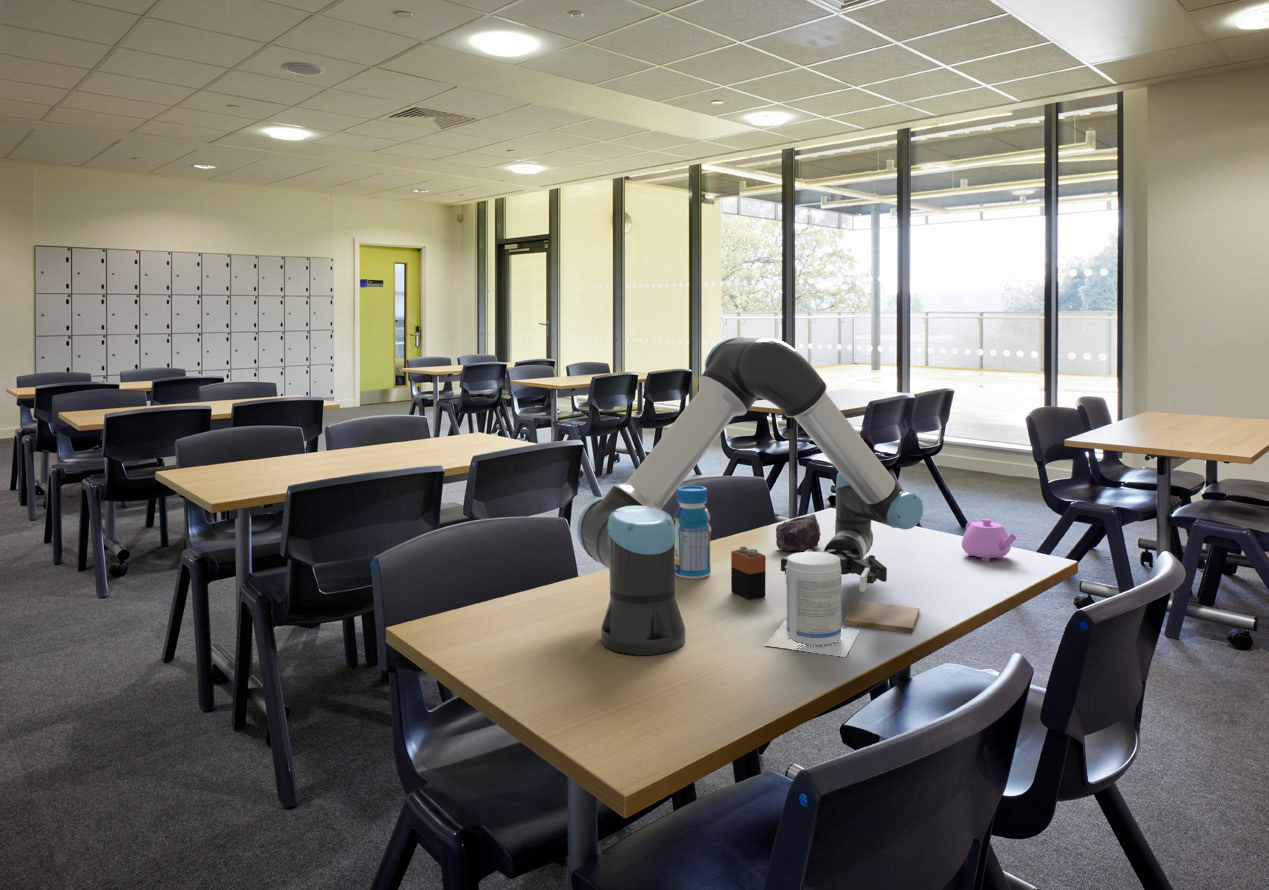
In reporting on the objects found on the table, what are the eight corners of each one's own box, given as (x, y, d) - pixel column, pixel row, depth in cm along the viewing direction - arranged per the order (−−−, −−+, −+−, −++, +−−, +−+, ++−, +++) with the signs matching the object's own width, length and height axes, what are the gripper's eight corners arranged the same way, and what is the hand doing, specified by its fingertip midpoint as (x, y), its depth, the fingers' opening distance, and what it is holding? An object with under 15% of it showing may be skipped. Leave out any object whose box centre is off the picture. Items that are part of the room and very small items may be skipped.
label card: (764, 646, 149) (764, 645, 149) (784, 621, 161) (784, 620, 161) (845, 657, 143) (845, 657, 143) (859, 630, 156) (859, 629, 156)
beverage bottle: (691, 582, 187) (690, 493, 185) (666, 574, 194) (665, 488, 191) (719, 575, 192) (718, 488, 190) (693, 567, 199) (692, 483, 196)
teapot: (980, 548, 212) (982, 511, 210) (1030, 563, 198) (1031, 523, 197) (948, 553, 208) (949, 516, 206) (996, 568, 194) (998, 528, 193)
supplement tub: (852, 639, 151) (853, 559, 149) (814, 651, 146) (814, 568, 144) (812, 624, 159) (813, 548, 157) (775, 635, 154) (775, 556, 152)
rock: (773, 552, 216) (794, 561, 207) (768, 520, 215) (789, 527, 205) (813, 540, 220) (835, 548, 210) (808, 508, 218) (830, 515, 209)
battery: (749, 601, 174) (749, 553, 172) (730, 592, 180) (730, 546, 178) (766, 597, 176) (766, 550, 174) (747, 589, 182) (747, 543, 180)
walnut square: (845, 625, 159) (845, 619, 159) (856, 605, 170) (856, 600, 169) (912, 633, 154) (912, 628, 154) (919, 612, 165) (919, 607, 165)
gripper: (907, 576, 172) (893, 607, 152) (785, 564, 182) (758, 592, 162) (908, 539, 171) (894, 567, 151) (785, 530, 181) (758, 554, 161)
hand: (824, 580), depth 157 cm, fingers open, 13 cm apart
